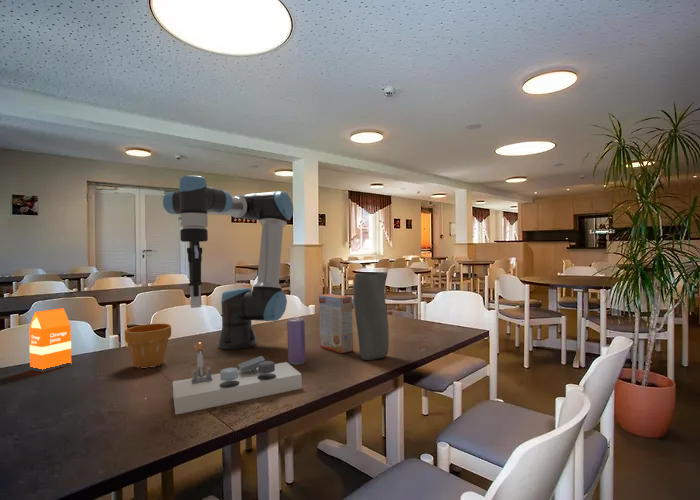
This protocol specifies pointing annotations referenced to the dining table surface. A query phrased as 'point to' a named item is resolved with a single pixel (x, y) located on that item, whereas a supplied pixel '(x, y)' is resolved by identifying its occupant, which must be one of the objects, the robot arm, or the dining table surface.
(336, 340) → the cracker box
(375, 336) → the vase
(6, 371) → the dining table surface
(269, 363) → the button
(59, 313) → the orange juice
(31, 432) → the dining table surface
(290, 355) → the beverage can
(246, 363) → the block
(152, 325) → the flower pot
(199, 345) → the lever
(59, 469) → the dining table surface
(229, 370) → the button
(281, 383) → the console
